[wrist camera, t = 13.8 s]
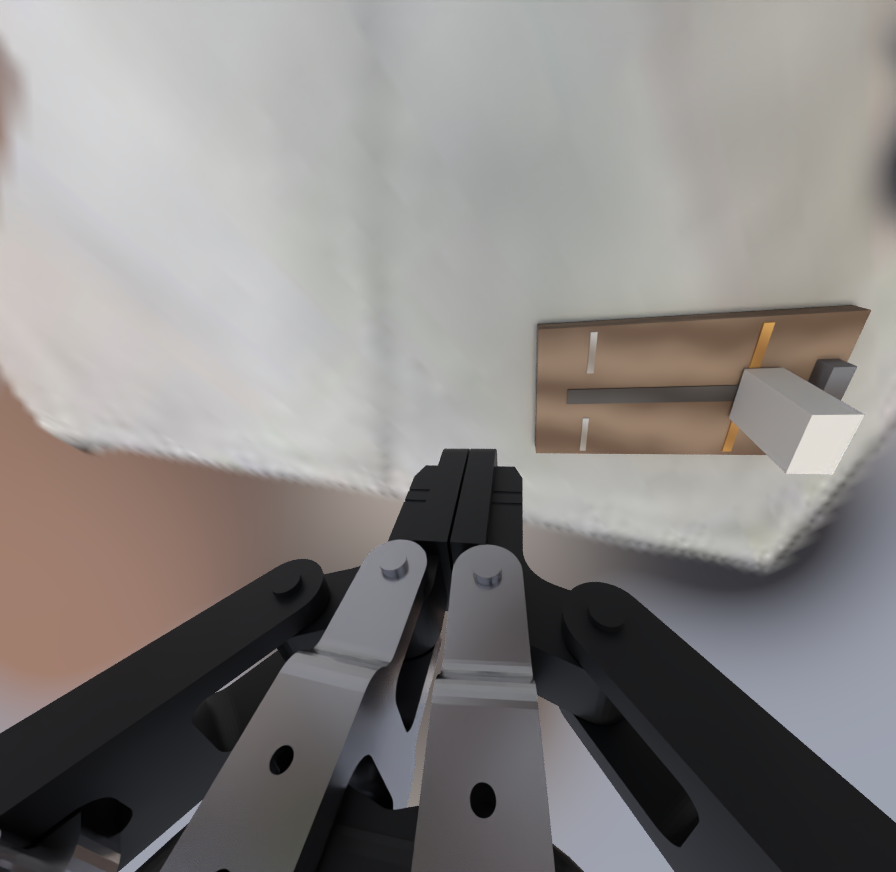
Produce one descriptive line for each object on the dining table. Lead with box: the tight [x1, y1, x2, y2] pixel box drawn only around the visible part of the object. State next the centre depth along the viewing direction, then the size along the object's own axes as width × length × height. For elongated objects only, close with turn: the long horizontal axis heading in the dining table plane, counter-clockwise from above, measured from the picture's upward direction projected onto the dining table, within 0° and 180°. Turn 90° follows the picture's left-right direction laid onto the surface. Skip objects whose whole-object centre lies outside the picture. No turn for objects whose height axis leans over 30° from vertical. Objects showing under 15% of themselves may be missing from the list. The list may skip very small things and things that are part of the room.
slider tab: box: [729, 368, 865, 474], centre depth 30 cm, size 5×3×9 cm, turn 6°
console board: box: [535, 305, 871, 455], centre depth 35 cm, size 14×26×4 cm, turn 96°
